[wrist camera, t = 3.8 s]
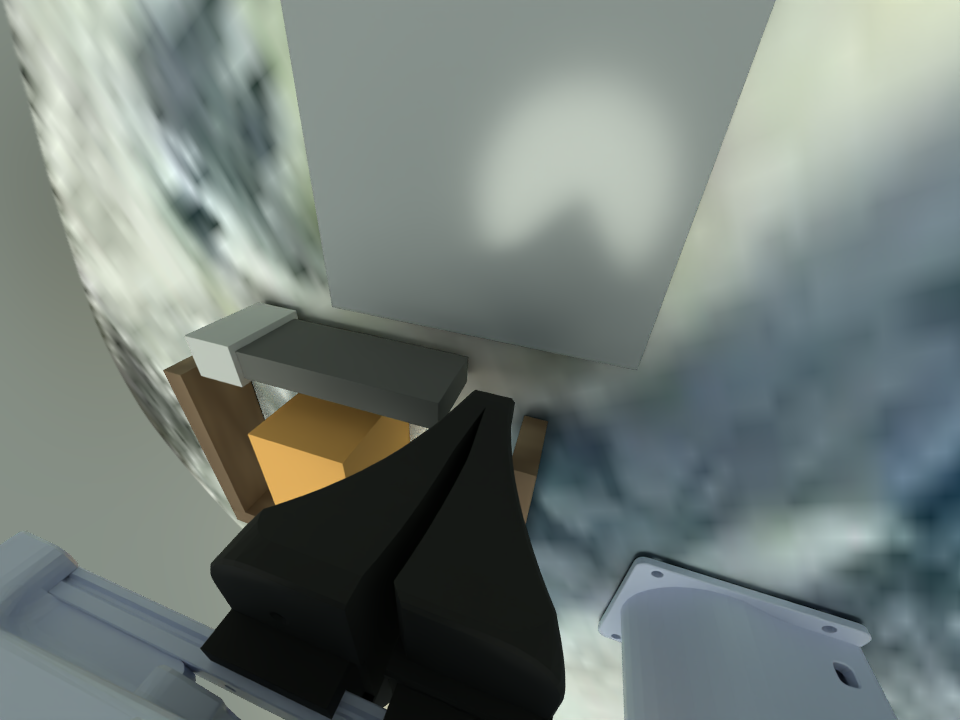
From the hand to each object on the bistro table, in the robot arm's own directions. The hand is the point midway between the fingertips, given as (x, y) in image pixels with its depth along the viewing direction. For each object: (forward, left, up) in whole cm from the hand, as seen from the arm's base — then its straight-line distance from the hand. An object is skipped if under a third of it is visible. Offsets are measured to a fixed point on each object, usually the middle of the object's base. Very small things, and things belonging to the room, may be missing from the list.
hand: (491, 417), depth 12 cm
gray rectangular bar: (+7, 0, -3) cm, 7 cm away
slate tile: (+2, -7, -3) cm, 8 cm away
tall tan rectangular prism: (+7, +7, -3) cm, 10 cm away
